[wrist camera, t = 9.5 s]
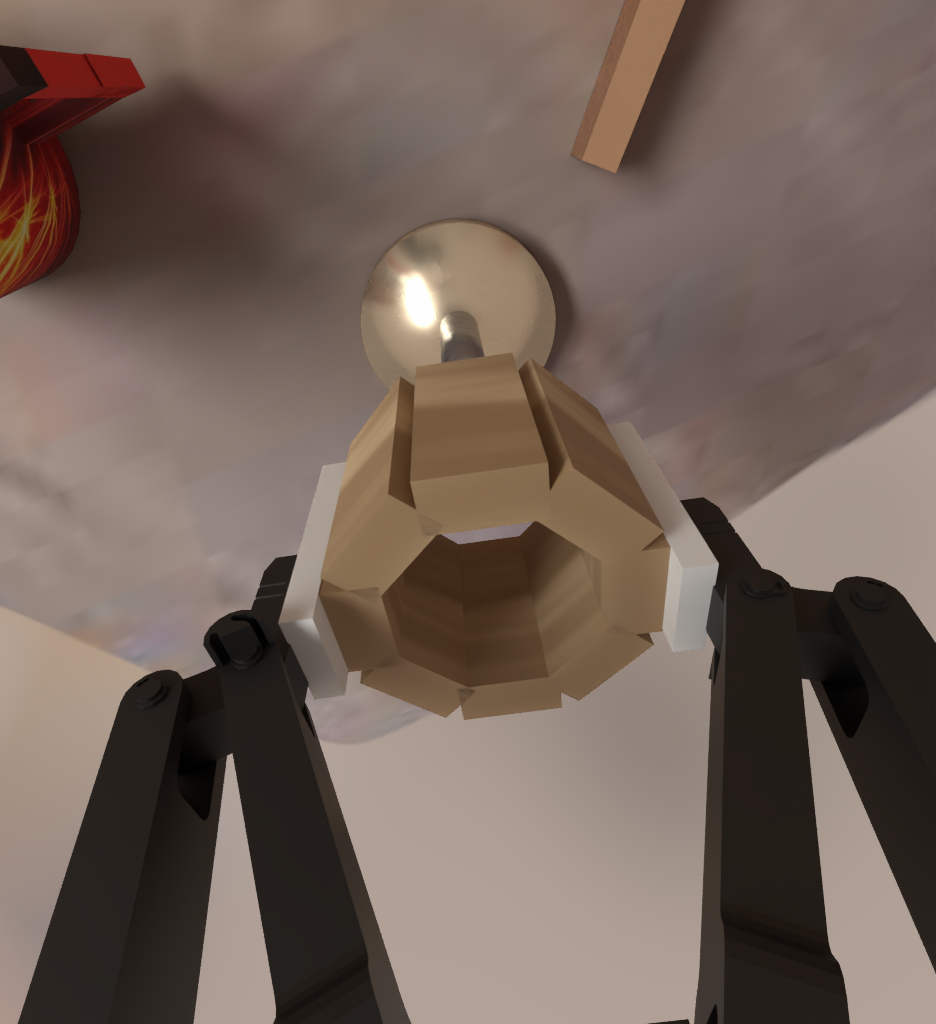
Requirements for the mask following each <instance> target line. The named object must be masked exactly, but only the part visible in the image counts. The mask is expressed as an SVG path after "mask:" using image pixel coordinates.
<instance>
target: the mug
mask: <svg viewBox="0 0 936 1024" xmlns="http://www.w3.org/2000/svg"><path fill="white" fill-rule="evenodd" d="M144 88H145V85H144V83H143V81H142V79H141V77H140V76H139V74H138V72H137V70H136V68H135V66H134V65H133V63H132V61H131V59H128V58H119V57H111V56H102V55H94V54H83V55H81V54H72V53H63V52H55V51H46V50H37V49H28V48H19V47H10V46H2V45H0V298H2V297H4V296H6V295H8V294H10V293H12V292H14V291H16V290H18V289H21V288H23V287H25V286H27V285H29V284H31V283H33V282H35V281H37V280H39V279H41V278H43V277H46V276H48V275H50V274H51V273H52V272H53V271H55V270H56V269H57V268H58V267H60V266H61V265H62V264H63V263H64V262H65V260H66V259H67V257H68V256H69V255H70V253H71V252H72V250H73V248H74V245H75V242H76V239H77V236H78V233H79V225H80V215H81V211H80V202H79V193H78V188H77V184H76V181H75V177H74V174H73V171H72V167H71V164H70V162H69V160H68V158H67V156H66V154H65V152H64V150H63V147H62V145H61V143H60V141H59V139H58V138H57V135H58V134H60V133H62V132H64V131H66V130H67V129H69V128H71V127H73V126H74V125H76V124H78V123H80V122H81V121H83V120H85V119H87V118H88V117H90V116H92V115H94V114H96V113H97V112H99V111H101V110H103V109H104V108H106V107H108V106H110V105H111V104H113V103H115V102H117V101H118V100H120V99H122V98H124V97H126V96H128V95H131V94H133V93H135V92H137V91H139V90H141V89H144ZM29 99H36V100H35V101H33V102H31V101H30V100H29Z"/></svg>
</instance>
